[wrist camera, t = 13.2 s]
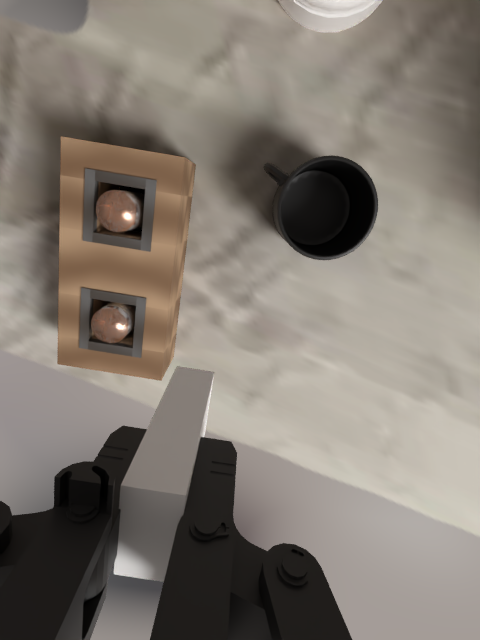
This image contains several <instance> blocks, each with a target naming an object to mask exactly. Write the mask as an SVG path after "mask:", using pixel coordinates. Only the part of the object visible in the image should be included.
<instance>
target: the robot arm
mask: <svg viewBox="0 0 480 640" xmlns="http://www.w3.org/2000/svg"><path fill="white" fill-rule="evenodd" d="M213 378H214V372H211V371H205V370H198V369H192V368H186V367H180V366H177V367H176V369H175V371H174V373H173V375H172V378H171V380H170V382H169V384H168V386H167V388H166V390H165V392H164V395H163V397H162V399H161V401H160V403H159V405H158V407H157V409H156V412H155V414H154V416H153V418H152V420H151V422H150V424H149V427H148V429H140V428H134V427H128V426H122V427H120V428H119V429H117V430H116V431H114V432H113V433H112V434H110V436H109V438H108V439H107V441H106V442H105V444H104V446H103V448H102V449H101V450H100V452H99V454H98V456H97V457H96V458H95V460H94V462H80V463H76V464H72V465H70V466H68V467H66V468H64V469H62V470H61V471H60V472H59V473H58V474H57V475H56V476H55V483H54V484H55V485H54V490H55V491H54V507H53V509H50V510H47V511H44V512H38V513H32V514H22V515H13V516H12V514H11V511H10V507H9V506H8V505H6V504H5V503H3V502H2V501H0V640H90V638H91V635H92V633H93V630H94V627H95V624H96V622H97V619H98V616H99V613H100V611H101V608H102V606H103V603H104V600H105V597H106V592H107V582H108V577H109V575H110V572H111V569H112V567H113V564H114V562H115V565H114V574H116V575H122V576H129V577H135V578H142V579H149V580H155V581H162V582H164V583H163V588H162V592H161V596H160V601H159V604H158V608H157V613H156V617H155V621H154V625H153V629H152V633H151V638H150V640H352V638H351V636H350V633H349V631H348V629H347V626H346V624H345V622H344V619H343V617H342V615H341V612H340V610H339V608H338V605H337V603H336V601H335V598H334V596H333V594H332V591H331V589H330V587H329V584H328V582H327V580H326V577H325V575H324V573H323V571H322V568H321V566H320V565H319V563H318V562H317V560H316V559H315V557H314V556H312V555H311V554H310V553H309V552H308V551H307V550H305V549H303V548H301V547H299V546H297V545H294V544H285V543H283V544H279V545H275V546H273V547H272V548H271V549H270V550H269V551H266V550H264V549H261V548H259V547H257V546H255V545H253V544H251V543H250V542H248V541H247V540H246V539H244V537H242V536H241V535H240V533H239V532H238V530H237V529H236V526H235V524H234V521H233V506H234V491H235V475H236V460H237V452H236V450H235V448H234V446H233V444H232V442H230V441H223V440H217V439H211V438H205V437H204V435H205V430H206V424H207V417H208V410H209V404H210V397H211V391H212V384H213Z"/></svg>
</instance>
